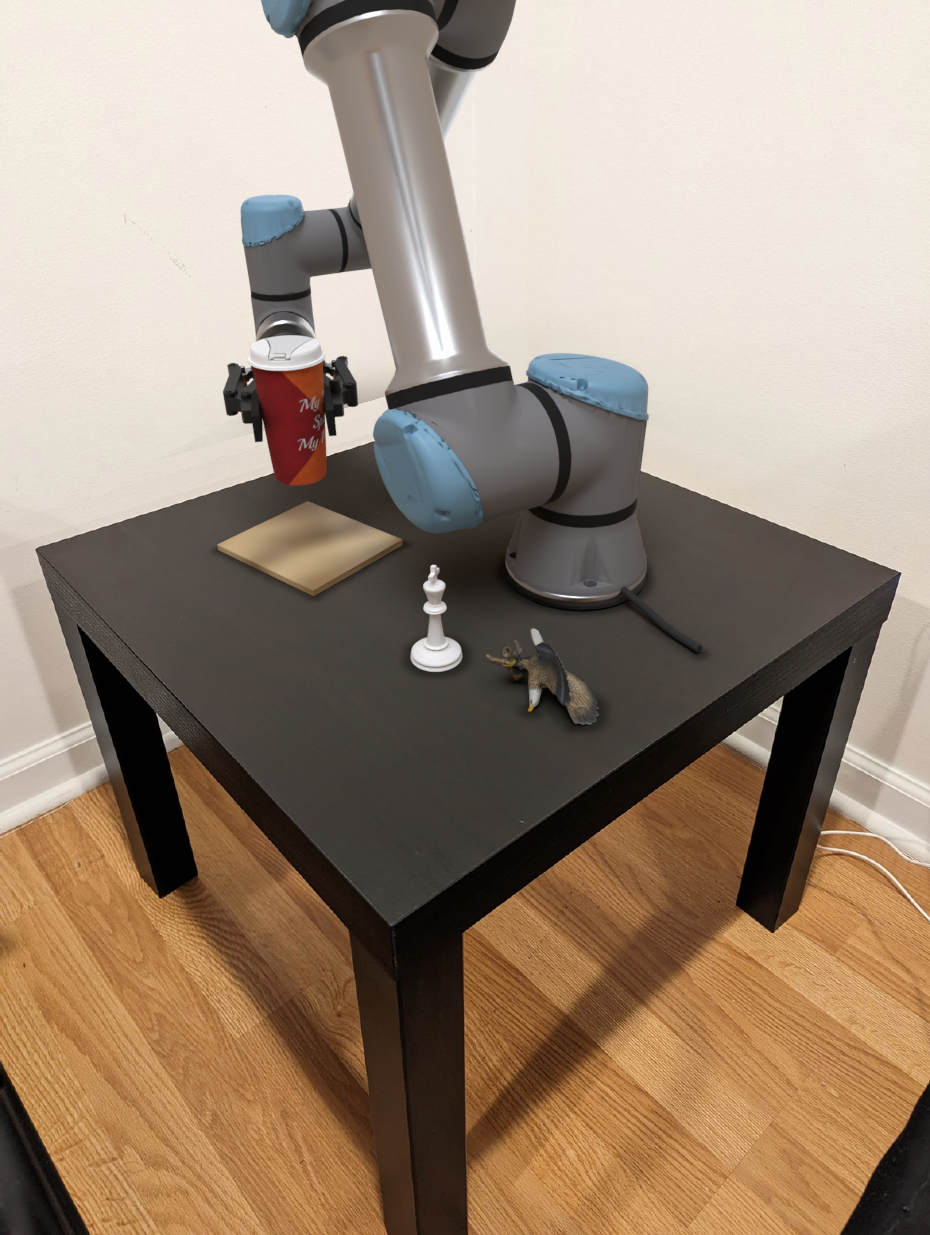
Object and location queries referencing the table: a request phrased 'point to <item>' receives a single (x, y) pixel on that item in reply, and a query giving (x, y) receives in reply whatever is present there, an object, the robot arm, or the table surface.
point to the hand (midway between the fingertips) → (294, 425)
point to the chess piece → (435, 632)
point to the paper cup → (292, 405)
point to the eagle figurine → (550, 679)
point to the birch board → (310, 547)
